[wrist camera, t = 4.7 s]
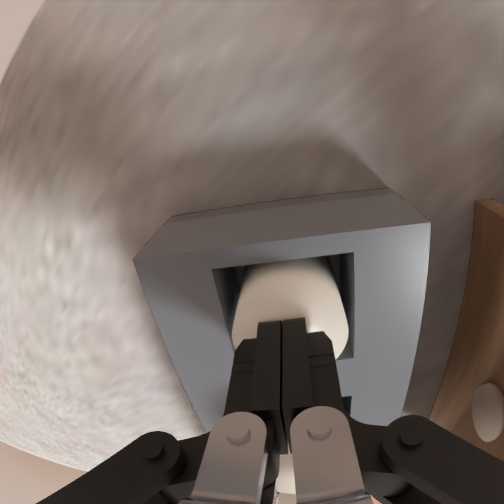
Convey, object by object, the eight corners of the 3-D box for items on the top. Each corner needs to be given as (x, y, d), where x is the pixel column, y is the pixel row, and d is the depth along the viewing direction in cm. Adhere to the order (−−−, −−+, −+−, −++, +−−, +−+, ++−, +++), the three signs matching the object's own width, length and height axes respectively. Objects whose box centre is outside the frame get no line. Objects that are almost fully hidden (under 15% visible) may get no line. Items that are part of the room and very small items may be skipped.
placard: (492, 199, 13) (614, 286, 5) (440, 418, 20) (468, 508, 12) (469, 201, 13) (594, 296, 5) (423, 422, 20) (448, 516, 12)
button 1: (329, 231, 13) (348, 280, 9) (334, 308, 14) (348, 371, 11) (236, 242, 13) (220, 295, 10) (252, 317, 15) (243, 380, 11)
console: (389, 187, 13) (430, 222, 9) (369, 440, 21) (377, 486, 17) (171, 216, 15) (132, 259, 11) (247, 451, 23) (242, 497, 19)
